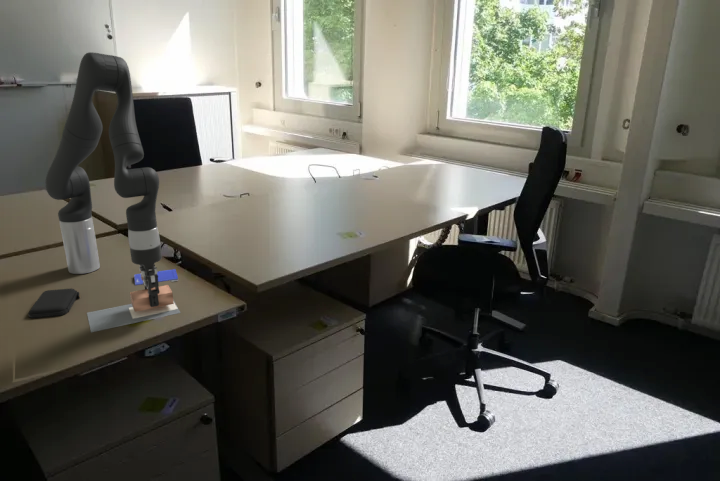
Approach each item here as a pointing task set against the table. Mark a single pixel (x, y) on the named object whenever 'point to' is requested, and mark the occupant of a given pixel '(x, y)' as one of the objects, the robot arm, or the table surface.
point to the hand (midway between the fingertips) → (152, 301)
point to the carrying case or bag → (54, 303)
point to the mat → (126, 316)
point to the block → (142, 298)
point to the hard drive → (160, 276)
